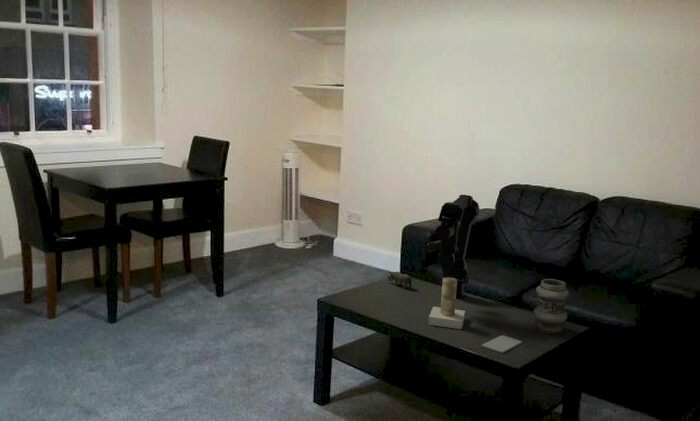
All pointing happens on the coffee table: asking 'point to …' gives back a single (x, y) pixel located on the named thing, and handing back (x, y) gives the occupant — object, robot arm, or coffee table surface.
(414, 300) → the coffee table surface
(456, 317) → the cream plinth
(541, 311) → the apothecary jar
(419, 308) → the coffee table surface
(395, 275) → the rhino figurine
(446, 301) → the birch pillar
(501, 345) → the smartphone
